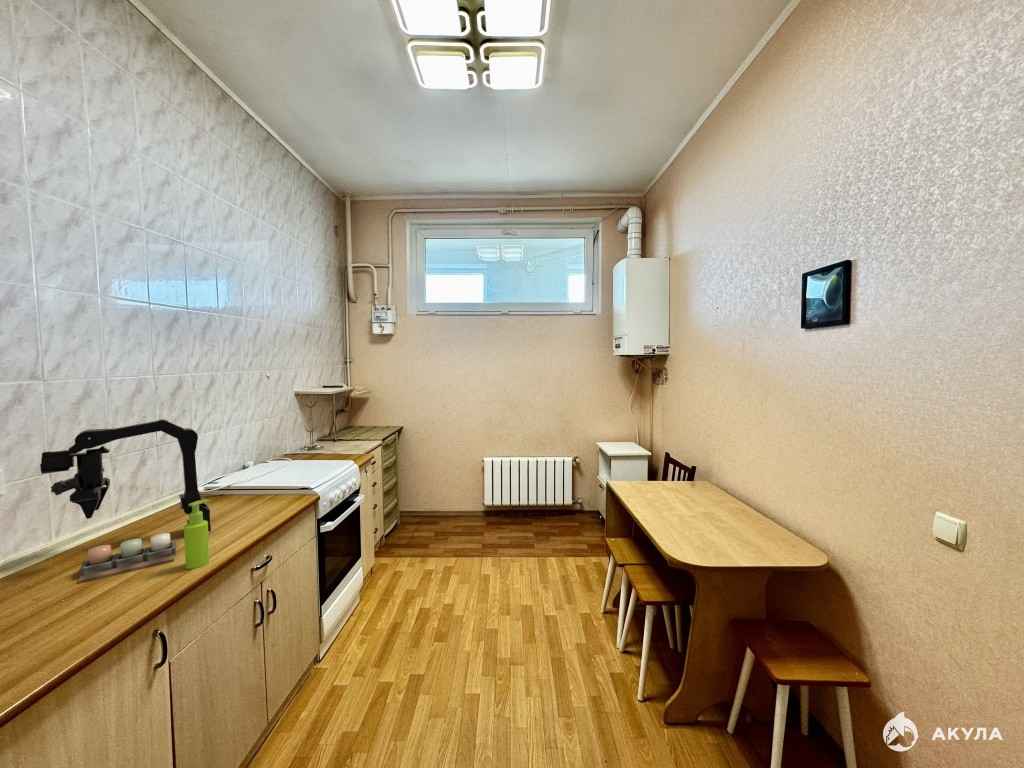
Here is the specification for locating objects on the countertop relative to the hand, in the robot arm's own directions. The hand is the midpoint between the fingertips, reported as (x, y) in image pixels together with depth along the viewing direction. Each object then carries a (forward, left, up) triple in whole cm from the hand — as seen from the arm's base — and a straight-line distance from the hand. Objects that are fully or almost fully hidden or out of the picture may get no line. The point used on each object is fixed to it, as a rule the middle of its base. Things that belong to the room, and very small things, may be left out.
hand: (92, 514), depth 130 cm
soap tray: (-11, +15, -14) cm, 23 cm away
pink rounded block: (-4, +15, -11) cm, 19 cm away
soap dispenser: (-28, +29, -14) cm, 43 cm away
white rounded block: (-18, +15, -11) cm, 26 cm away
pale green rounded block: (-11, +15, -11) cm, 22 cm away
